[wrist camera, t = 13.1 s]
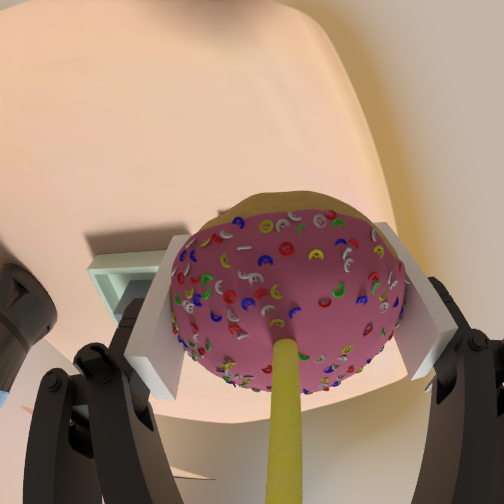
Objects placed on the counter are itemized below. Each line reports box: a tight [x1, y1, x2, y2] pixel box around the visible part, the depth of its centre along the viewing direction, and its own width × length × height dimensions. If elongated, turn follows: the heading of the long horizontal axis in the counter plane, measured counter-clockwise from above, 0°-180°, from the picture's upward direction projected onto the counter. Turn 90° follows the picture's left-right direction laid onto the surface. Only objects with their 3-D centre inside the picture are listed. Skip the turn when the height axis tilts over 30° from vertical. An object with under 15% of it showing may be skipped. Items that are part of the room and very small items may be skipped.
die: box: [113, 280, 153, 324], centre depth 31 cm, size 6×6×6 cm
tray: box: [87, 250, 166, 328], centre depth 33 cm, size 14×14×3 cm
